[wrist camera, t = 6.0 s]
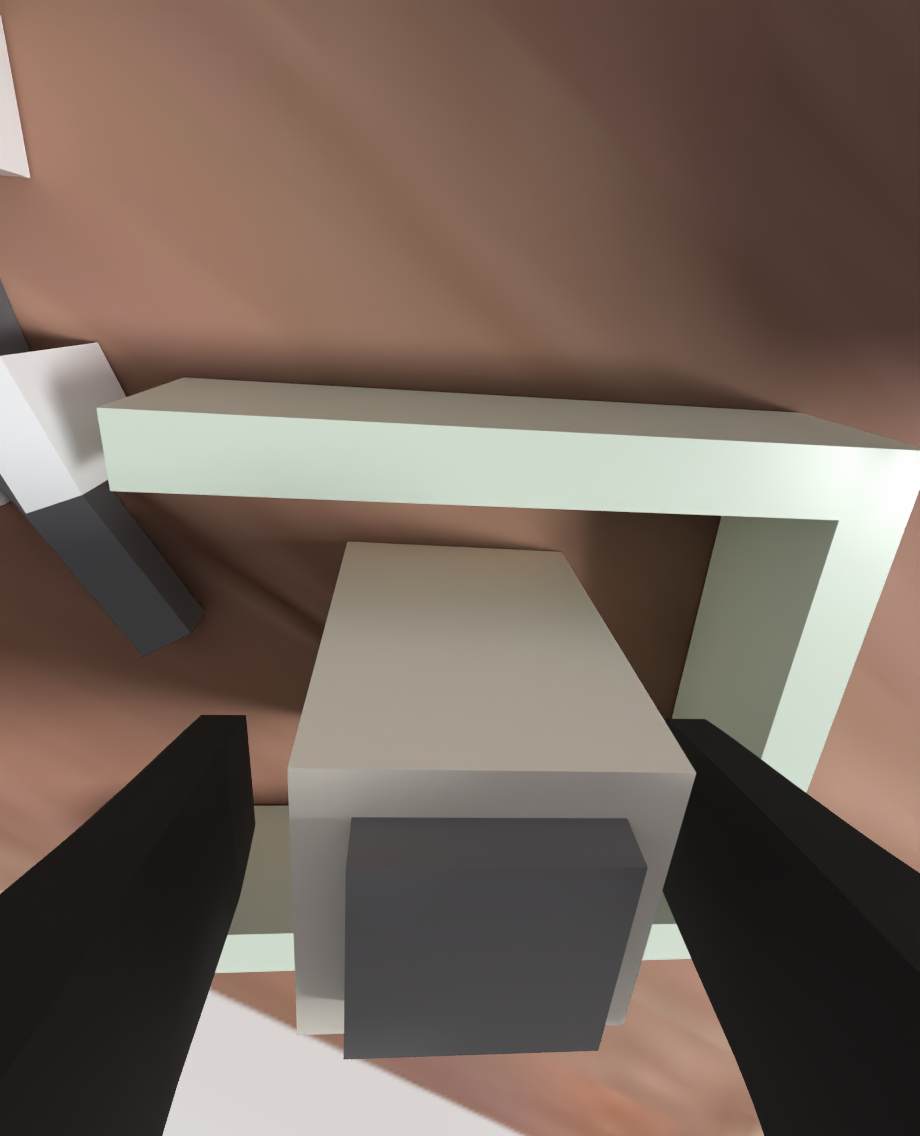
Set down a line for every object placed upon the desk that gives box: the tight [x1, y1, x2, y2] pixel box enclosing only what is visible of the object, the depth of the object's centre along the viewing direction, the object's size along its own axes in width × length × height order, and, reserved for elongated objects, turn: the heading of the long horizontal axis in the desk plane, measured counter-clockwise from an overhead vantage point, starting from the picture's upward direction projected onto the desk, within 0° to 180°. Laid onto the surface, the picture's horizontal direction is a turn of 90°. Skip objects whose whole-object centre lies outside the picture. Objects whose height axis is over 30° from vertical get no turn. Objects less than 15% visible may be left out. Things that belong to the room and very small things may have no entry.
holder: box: [96, 377, 920, 973], centre depth 11 cm, size 10×10×3 cm
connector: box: [287, 542, 696, 1059], centre depth 9 cm, size 4×4×7 cm
